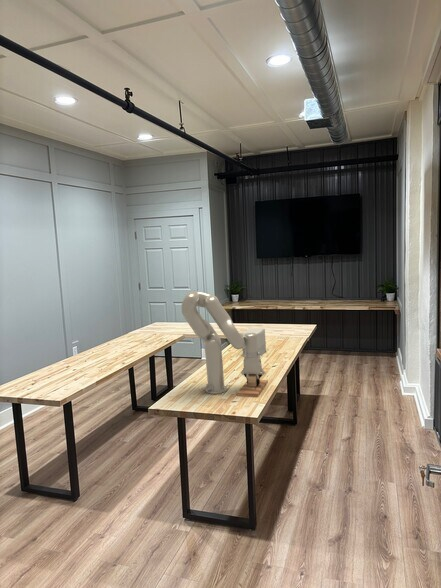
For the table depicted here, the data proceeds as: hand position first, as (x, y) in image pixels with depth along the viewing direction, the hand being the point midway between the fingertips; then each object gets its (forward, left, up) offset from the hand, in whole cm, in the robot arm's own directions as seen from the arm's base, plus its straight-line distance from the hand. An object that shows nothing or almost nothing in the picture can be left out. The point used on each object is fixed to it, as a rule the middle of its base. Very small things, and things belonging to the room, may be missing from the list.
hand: (253, 384), depth 246 cm
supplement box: (+52, +53, -2) cm, 74 cm away
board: (-2, -1, -2) cm, 3 cm away
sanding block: (0, 0, 0) cm, 0 cm away
